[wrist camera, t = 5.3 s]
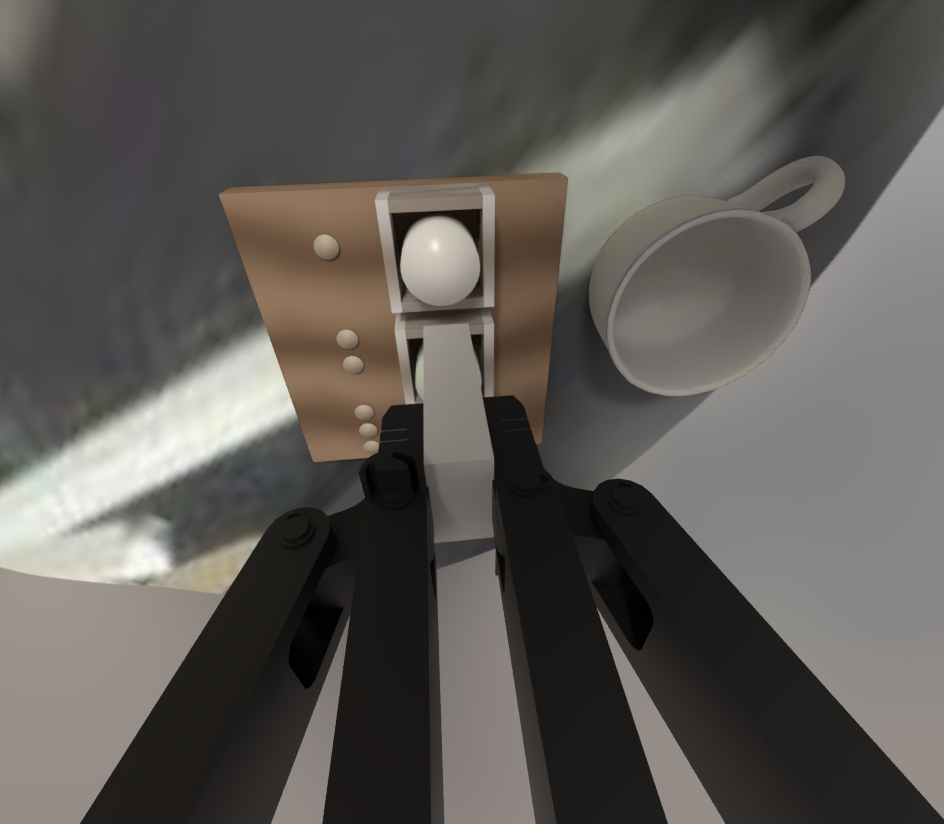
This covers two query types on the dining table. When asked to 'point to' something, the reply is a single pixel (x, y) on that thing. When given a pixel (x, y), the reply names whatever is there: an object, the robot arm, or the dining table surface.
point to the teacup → (709, 281)
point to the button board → (396, 293)
